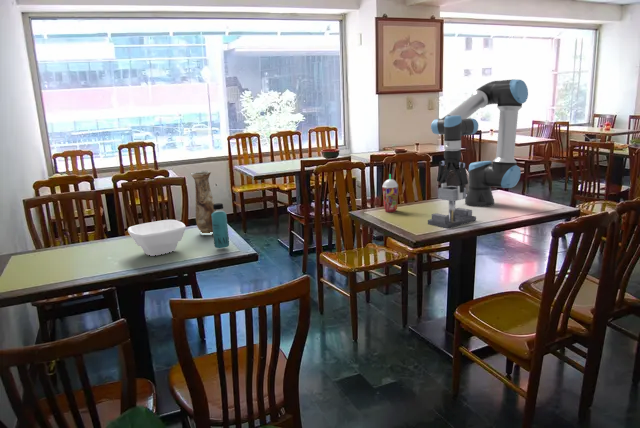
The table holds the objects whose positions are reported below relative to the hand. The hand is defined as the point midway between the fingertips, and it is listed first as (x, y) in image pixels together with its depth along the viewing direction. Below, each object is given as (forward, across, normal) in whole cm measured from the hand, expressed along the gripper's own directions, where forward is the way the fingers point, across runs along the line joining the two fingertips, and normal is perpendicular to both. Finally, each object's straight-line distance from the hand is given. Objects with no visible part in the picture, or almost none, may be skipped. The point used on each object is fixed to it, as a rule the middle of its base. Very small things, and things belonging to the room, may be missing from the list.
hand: (451, 198), depth 231 cm
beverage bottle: (+13, -39, -100) cm, 108 cm away
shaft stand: (+12, 0, 0) cm, 12 cm away
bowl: (+13, -54, -122) cm, 134 cm away
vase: (+13, -69, -94) cm, 117 cm away
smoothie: (+12, -39, -3) cm, 41 cm away
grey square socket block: (0, 0, 0) cm, 0 cm away
